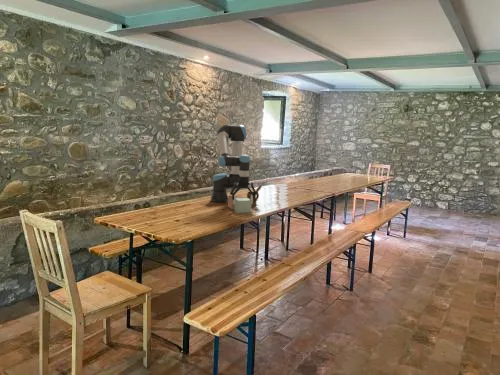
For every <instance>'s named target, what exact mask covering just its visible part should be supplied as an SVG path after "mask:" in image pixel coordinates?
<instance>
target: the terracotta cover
mask: <svg viewBox="0 0 500 375" xmlns="http://www.w3.org/2000/svg"><path fill="white" fill-rule="evenodd" d="M227 196H228V203H227V205H228V207H229V209H230V210H232V209H235V204H233V200H232V195H227ZM235 198H245V197H243V195H235Z"/></svg>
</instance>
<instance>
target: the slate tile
mask: <svg viewBox="0 0 500 375" xmlns="http://www.w3.org/2000/svg"><path fill="white" fill-rule="evenodd" d="M231 210H232V211H233V212H234V213H236V214H239V213H238V212H236V211H235V209H231ZM253 213H254V212H253V211H252V210H251V212H247V213H246V214H253Z"/></svg>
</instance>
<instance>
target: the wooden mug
mask: <svg viewBox="0 0 500 375" xmlns="http://www.w3.org/2000/svg"><path fill="white" fill-rule="evenodd" d="M261 189H262V185H259V186H258V187H257V188H256V189H255V191H256V193H257V194H256V195H254V199H253V204H251V207H257V201H258V200H259V196H260V195H259V191H260V190H261ZM252 192H253V191H252ZM253 193H254V192H253ZM251 195H252V194H251V193H250V191H247V193H246V198H249V199H250V200H251Z"/></svg>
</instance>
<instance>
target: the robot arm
mask: <svg viewBox="0 0 500 375" xmlns="http://www.w3.org/2000/svg"><path fill="white" fill-rule="evenodd" d="M216 138H217V140H218V147H219V156H218V158H217V165H218V166H220V167H231V171H230V172H229V174H228V173H225V172H223V173H221V172H220V173H216V174H214V175H213V176H212V177H213V178H212V183H213V184H212V194H211V196H210V201H211V202H213V203H227V202H228V196H232V200H233V204H235V196H236V194H237V193H238V191H240V189H241V190H242V189H247V190H248V192H250V193H251V194H252V195H251V200H252V202H251V204H253V199H254V195H256V194H257V193H256V189H255V187H254V182H252V181H250V162H251V156H250V155H249V154H243V143H244V142H245V140H247V130H246V127H245V125H243V124H224V125H221V127H220V128H218V130H217V133H216ZM229 140H230V142H231V143H232V144H231V152H230V146H229ZM250 187H251V188H250ZM227 190H230V192H229V195H228V192H227ZM253 192H254V193H253ZM256 196H257V195H256Z"/></svg>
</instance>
